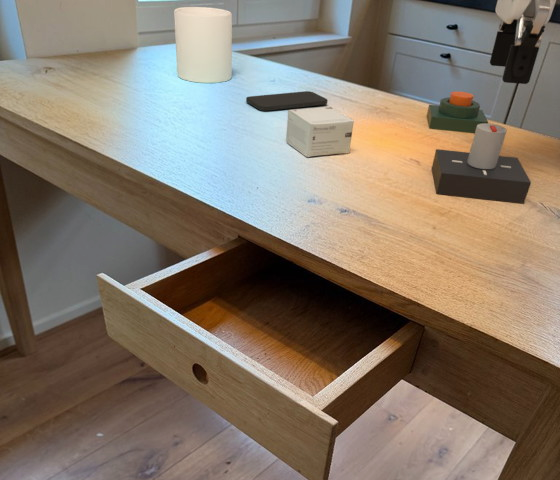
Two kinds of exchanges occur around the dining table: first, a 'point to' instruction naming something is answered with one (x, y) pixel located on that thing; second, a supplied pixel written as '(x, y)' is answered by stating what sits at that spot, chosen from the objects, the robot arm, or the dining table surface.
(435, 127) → the button block
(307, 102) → the phone
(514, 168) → the control panel
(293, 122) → the small box
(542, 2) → the robot arm
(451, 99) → the button
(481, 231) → the dining table surface
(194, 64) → the cup
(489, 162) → the knob
